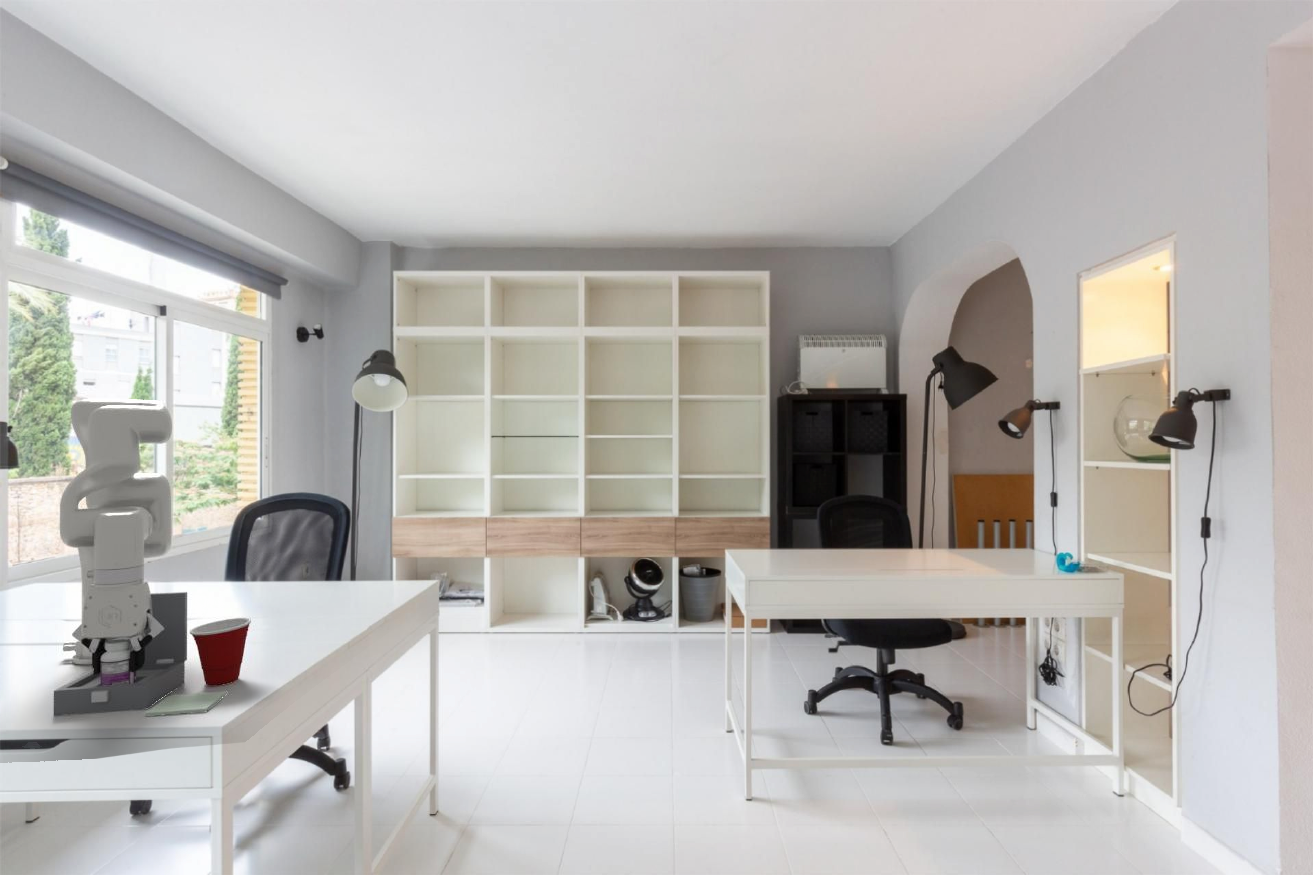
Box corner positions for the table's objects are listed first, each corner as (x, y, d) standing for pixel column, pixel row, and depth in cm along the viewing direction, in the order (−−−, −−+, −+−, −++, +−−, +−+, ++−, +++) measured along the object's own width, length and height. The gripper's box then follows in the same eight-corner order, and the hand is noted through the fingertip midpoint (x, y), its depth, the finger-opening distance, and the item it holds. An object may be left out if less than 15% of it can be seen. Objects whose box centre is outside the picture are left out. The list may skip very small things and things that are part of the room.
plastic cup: (197, 676, 142) (197, 619, 143) (256, 670, 146) (256, 614, 147) (182, 694, 132) (182, 632, 132) (245, 686, 136) (245, 627, 136)
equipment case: (51, 717, 121) (52, 613, 121) (104, 687, 136) (104, 595, 137) (145, 710, 124) (145, 609, 124) (186, 681, 139) (187, 591, 140)
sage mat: (144, 716, 121) (144, 713, 121) (170, 698, 130) (170, 695, 130) (206, 712, 123) (206, 708, 123) (227, 694, 132) (227, 691, 132)
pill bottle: (113, 686, 131) (114, 636, 132) (142, 685, 132) (143, 636, 132) (93, 696, 126) (93, 645, 126) (123, 695, 127) (123, 644, 127)
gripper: (54, 581, 124) (53, 680, 124) (159, 578, 127) (158, 674, 127) (80, 573, 131) (80, 667, 131) (179, 570, 134) (178, 661, 134)
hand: (118, 669), depth 129 cm, fingers closed on pill bottle, 5 cm apart
